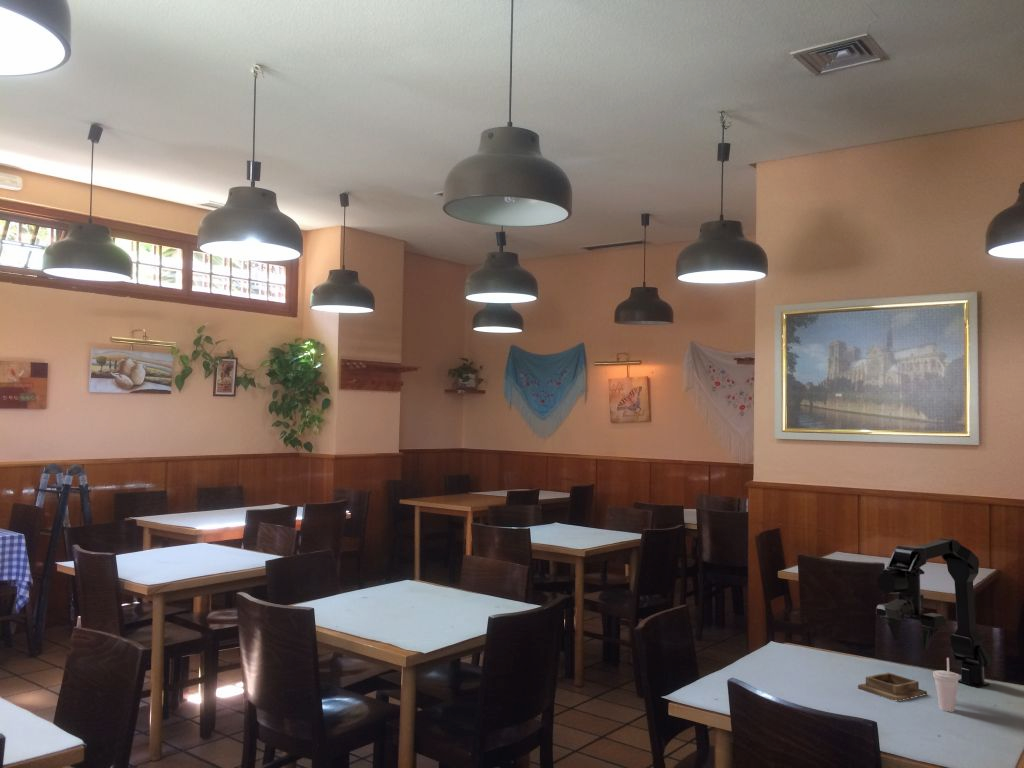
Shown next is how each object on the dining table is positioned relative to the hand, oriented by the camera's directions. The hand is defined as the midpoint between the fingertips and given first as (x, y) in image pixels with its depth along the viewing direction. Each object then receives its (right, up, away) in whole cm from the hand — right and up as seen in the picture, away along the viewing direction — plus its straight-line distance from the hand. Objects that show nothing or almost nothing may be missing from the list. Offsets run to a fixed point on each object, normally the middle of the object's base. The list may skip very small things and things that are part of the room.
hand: (910, 645), depth 226 cm
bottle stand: (-3, -15, +4) cm, 16 cm away
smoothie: (+4, -14, -11) cm, 19 cm away
